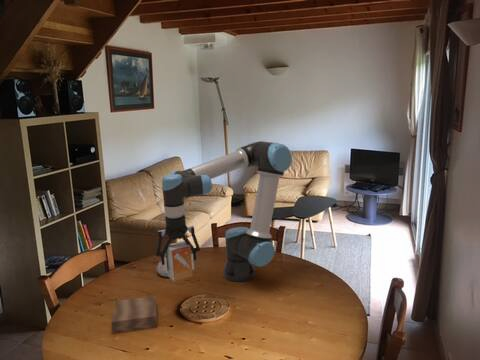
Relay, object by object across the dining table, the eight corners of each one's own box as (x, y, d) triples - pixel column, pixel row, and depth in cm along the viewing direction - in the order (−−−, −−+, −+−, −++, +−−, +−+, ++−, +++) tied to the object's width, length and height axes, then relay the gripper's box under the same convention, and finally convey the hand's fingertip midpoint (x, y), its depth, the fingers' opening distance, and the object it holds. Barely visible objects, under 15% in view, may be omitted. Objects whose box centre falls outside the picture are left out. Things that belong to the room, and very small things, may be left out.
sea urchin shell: (162, 281, 190) (160, 265, 188) (153, 271, 202) (152, 256, 200) (188, 274, 196) (187, 259, 194) (178, 265, 208) (177, 250, 206)
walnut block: (156, 306, 168) (155, 295, 167) (156, 328, 152) (155, 315, 151) (116, 312, 165) (115, 300, 164) (112, 334, 149) (111, 322, 148)
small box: (174, 282, 154) (171, 250, 151) (167, 276, 159) (164, 245, 157) (193, 276, 158) (190, 244, 156) (186, 270, 164) (183, 240, 161)
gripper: (203, 209, 159) (206, 262, 164) (145, 215, 155) (150, 269, 160) (205, 214, 152) (209, 270, 157) (144, 221, 148) (150, 277, 153)
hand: (179, 269), depth 158 cm, fingers closed on small box, 10 cm apart
